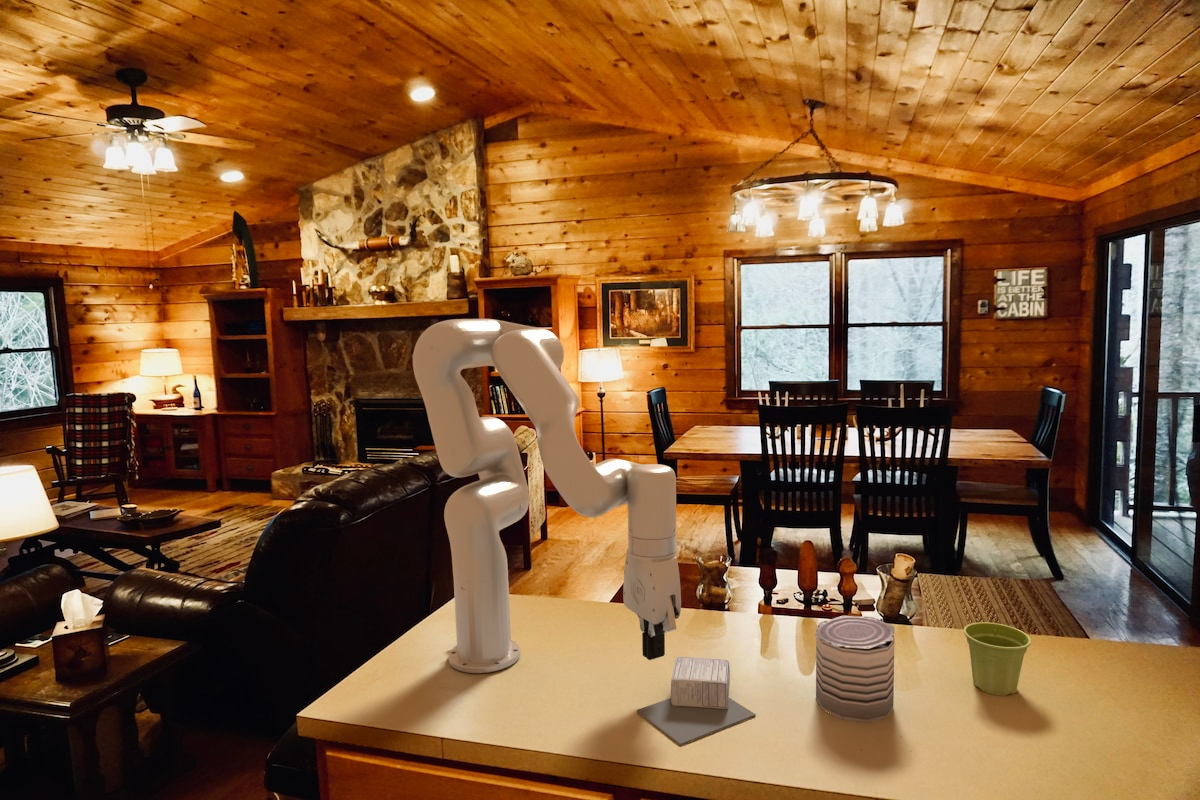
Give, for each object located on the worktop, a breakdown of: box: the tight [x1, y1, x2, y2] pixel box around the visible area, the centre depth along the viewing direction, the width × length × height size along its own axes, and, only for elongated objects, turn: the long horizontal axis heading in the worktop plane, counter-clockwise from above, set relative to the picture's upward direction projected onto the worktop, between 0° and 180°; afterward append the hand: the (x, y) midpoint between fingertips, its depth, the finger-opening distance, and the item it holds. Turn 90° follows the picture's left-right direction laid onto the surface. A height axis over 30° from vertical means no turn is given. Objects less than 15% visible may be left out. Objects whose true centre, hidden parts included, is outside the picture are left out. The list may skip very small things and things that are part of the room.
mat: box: [636, 697, 757, 747], centre depth 114 cm, size 11×14×1 cm
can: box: [815, 615, 895, 724], centre depth 115 cm, size 11×11×12 cm
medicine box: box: [670, 656, 731, 709], centre depth 119 cm, size 8×4×9 cm
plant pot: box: [963, 621, 1032, 697], centre depth 119 cm, size 9×9×9 cm
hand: (653, 656), depth 121 cm, fingers closed
